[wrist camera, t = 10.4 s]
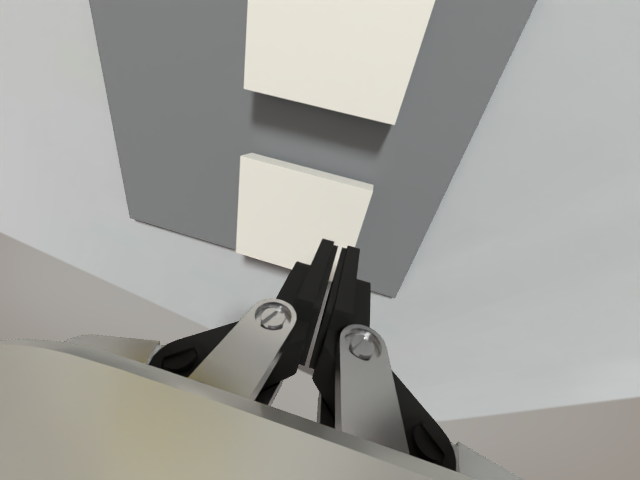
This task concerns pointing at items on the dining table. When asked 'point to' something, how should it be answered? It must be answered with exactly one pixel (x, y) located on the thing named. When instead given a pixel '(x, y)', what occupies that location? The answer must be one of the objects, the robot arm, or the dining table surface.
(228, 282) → the dining table surface
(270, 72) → the tile
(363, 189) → the tile
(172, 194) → the mat
